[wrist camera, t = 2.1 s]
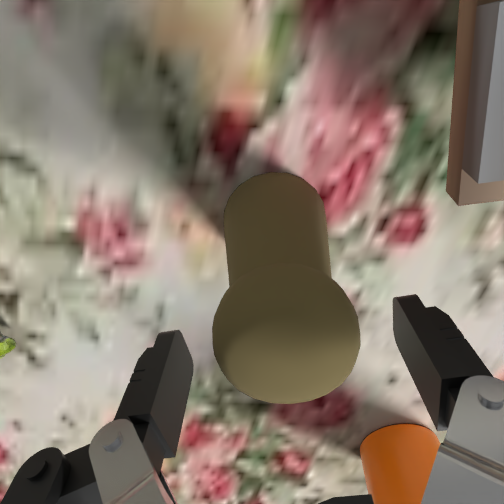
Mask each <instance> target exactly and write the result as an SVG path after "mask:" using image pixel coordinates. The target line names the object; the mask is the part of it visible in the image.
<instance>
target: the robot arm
mask: <svg viewBox="0 0 504 504" xmlns="http://www.w3.org/2000/svg"><path fill="white" fill-rule="evenodd" d="M393 331H394V337H395V341H396V344H397V346H398V349H399V351H400V353H401V355H402V357H403V359H404V361H405V364H406V366H407V368H408V370H409V372H410V374H411V376H412V378H413V381H414V383H415V385H416V387H417V389H418V391H419V393H420V395H421V398H422V400H423V402H424V404H425V406H426V408H427V410H428V412H429V415H430V417H431V419H432V421H433V423H434V425H435V427H436V429H437V431H443V430H447V433H446V436H445V439H444V442H443V443H441V444H440V446H439V449H438V452H437V455H436V458H435V461H434V464H433V467H432V470H431V473H430V476H429V479H428V483H427V486H426V489H425V492H424V495H423V498H422V501H421V504H504V381H502V380H500V379H497V378H494V377H493V375H492V374H491V373H490V372H489V370H488V369H487V367H486V366H485V365H484V363H483V362H482V361H481V359H480V358H479V356H478V355H477V354H476V352H475V351H474V350H473V348H472V347H471V345H470V344H469V343H468V341H467V340H466V339H464V336H463V334H462V333H461V332H460V330H459V329H457V326H456V325H455V323H454V322H453V321H452V319H451V318H450V316H449V315H447V314H446V313H444V312H443V311H441V310H440V309H438V308H437V307H435V306H434V307H428V308H425V306H424V305H423V303H422V302H421V300H420V299H419V297H418V296H417V295H416V294H414V295H407V296H401V297H394V298H393ZM192 376H193V360H192V357H191V354H190V352H189V350H188V347H187V345H186V343H185V340H184V338H183V335H182V333H181V332H180V330H174V331H167V332H161V333H159V334H158V336H157V338H156V341H155V344H154V347H151V348H147V349H146V351H145V352H144V353H143V354H142V355H141V357H140V358H139V359H138V361H137V364H136V366H135V369H134V373H133V374H132V376H131V379H130V383H129V384H128V386H127V388H126V391H125V393H124V396H123V398H122V401H121V403H120V406H119V408H118V411H117V413H116V416H115V418H114V420H113V421H112V422H110V423H108V424H106V425H105V426H104V427H102V428H101V429H100V430H99V431H98V432H97V433H96V435H95V436H94V438H93V439H92V441H91V443H90V444H88V445H86V446H84V447H82V448H79V449H77V450H75V451H72V452H70V453H68V454H65V455H64V454H63V453H62V452H61V451H60V450H59V449H58V448H54V447H50V448H46V449H43V450H41V451H39V452H37V453H36V454H34V455H33V456H31V457H30V458H29V459H28V460H27V461H26V462H25V463H24V464H23V465H22V466H21V468H20V469H19V470H18V472H17V474H16V476H15V477H14V479H13V481H12V483H11V485H10V487H9V489H8V490H7V492H6V494H5V496H4V498H3V500H2V502H1V504H178V503H177V501H176V499H175V497H174V495H173V493H172V491H171V489H170V487H169V485H168V482H167V480H166V478H165V476H164V474H163V472H162V471H161V467H162V463H163V459H164V458H172V457H175V456H176V451H177V446H178V442H179V437H180V432H181V428H182V423H183V418H184V414H185V409H186V404H187V399H188V395H189V390H190V385H191V381H192ZM318 504H374V502H373V498H372V494H368V495H356V496H345V497H333V498H331V499H328V500H326V501H323V502H321V503H318Z"/></svg>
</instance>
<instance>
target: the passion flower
mask: <svg viewBox="0 0 504 504" xmlns="http://www.w3.org/2000/svg"><path fill="white" fill-rule="evenodd" d="M15 347H16V343H15V340H14V339H12V338H9V337H7V336H3V335H2V334H1V332H0V359H1V358H2V357H4V356H5V354H7V353H9V352H11V351H12V350H13V349H14V348H15Z"/></svg>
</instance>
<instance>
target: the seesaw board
mask: <svg viewBox="0 0 504 504" xmlns="http://www.w3.org/2000/svg"><path fill="white" fill-rule="evenodd" d="M446 192H447V193H448V194H449V195H450V197H451V198H452V199H453V200H454V201H455V202H456V204H457V205H458V206H461V205H469V204H478V203H486V202H494V201H502V200H504V0H460V1H459V15H458V29H457V43H456V57H455V71H454V85H453V99H452V113H451V128H450V142H449V156H448V170H447V184H446Z"/></svg>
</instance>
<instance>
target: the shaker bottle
mask: <svg viewBox="0 0 504 504" xmlns="http://www.w3.org/2000/svg"><path fill="white" fill-rule="evenodd" d="M439 446H440V442H439V440H438V438H437V436H436V435H435V434H434V433H433V432H432V431H431V430H429V429H427V428H425V427H423V426H419V425H414V424H397V425H391V426H387V427H384V428H381V429H378V430H376V431H374V432H372V433H371V434H370V435H368V436H367V437H366V438H365V439H364V440H363V442H362V444H361V446H360V455H361V460H362V465H363V469H364V474H365V479H366V484H367V489H368V494H372V498H373V502H374V504H421V501H422V498H423V495H424V492H425V489H426V486H427V483H428V479H429V476H430V473H431V470H432V467H433V464H434V461H435V458H436V455H437V452H438V449H439Z"/></svg>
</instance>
